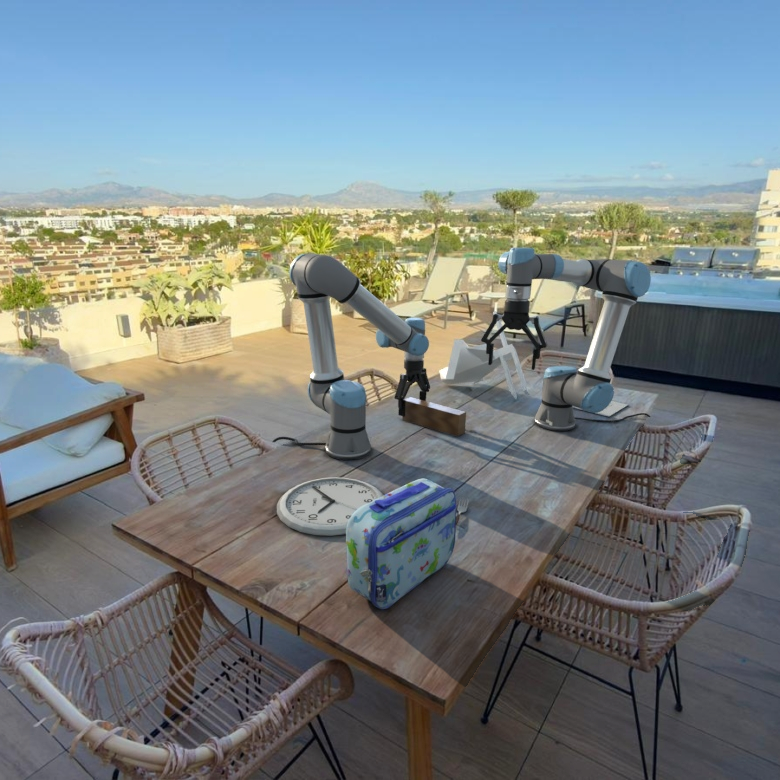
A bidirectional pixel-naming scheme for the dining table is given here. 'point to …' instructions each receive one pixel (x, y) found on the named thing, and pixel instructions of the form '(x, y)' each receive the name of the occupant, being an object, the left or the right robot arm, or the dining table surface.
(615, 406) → the invitation card
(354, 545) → the lunch box
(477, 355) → the white plastic object
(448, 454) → the dining table surface
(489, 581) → the dining table surface
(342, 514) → the wall clock
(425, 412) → the bar
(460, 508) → the fork
